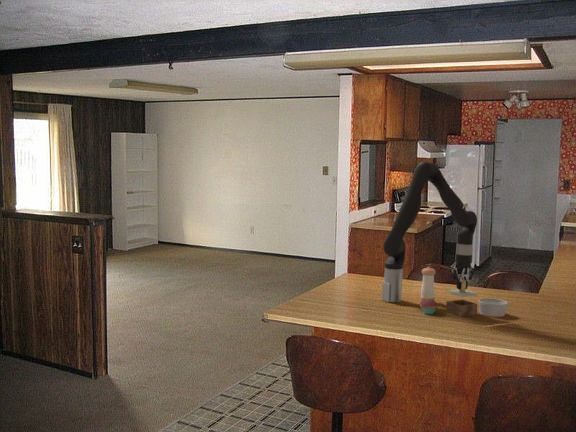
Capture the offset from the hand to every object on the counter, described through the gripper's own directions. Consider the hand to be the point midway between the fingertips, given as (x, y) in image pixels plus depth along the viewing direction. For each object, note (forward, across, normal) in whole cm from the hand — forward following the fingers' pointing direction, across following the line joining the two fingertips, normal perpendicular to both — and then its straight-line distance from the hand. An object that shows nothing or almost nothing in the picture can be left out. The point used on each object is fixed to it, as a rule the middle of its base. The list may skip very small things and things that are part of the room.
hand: (461, 288), depth 290 cm
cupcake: (+13, -14, +7) cm, 20 cm away
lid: (+2, 0, 0) cm, 2 cm away
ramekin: (+13, +14, -6) cm, 20 cm away
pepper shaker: (+13, -1, +24) cm, 27 cm away
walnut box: (+13, 0, 0) cm, 13 cm away
